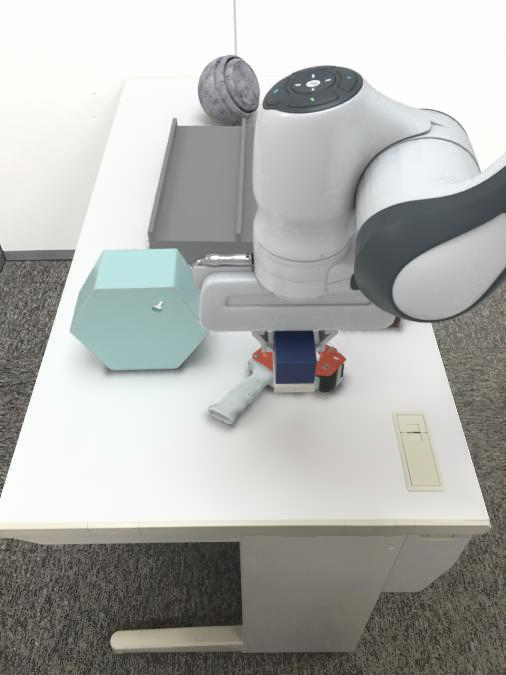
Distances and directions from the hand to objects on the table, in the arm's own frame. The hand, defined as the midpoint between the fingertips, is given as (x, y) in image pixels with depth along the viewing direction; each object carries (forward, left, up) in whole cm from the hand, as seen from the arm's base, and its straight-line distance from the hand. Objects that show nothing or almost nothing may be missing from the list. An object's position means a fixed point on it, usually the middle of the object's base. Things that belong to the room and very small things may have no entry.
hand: (293, 347), depth 60 cm
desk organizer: (+50, -23, -19) cm, 58 cm away
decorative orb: (+79, -37, -19) cm, 90 cm away
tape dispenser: (+8, -4, -19) cm, 21 cm away
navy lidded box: (0, 0, -2) cm, 2 cm away
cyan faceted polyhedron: (+23, +10, -19) cm, 32 cm away
